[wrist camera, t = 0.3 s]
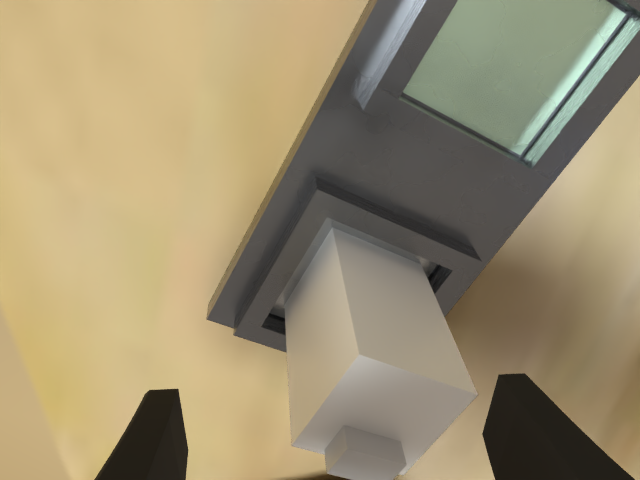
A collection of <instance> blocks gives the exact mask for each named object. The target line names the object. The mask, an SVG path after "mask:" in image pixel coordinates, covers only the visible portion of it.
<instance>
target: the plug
mask: <svg viewBox="0 0 640 480" xmlns="http://www.w3.org/2000/svg"><path fill="white" fill-rule="evenodd" d="M284 308H285V328H286V348H287V368H288V387H289V407H290V427H291V446H294V447H298V448H301V449H305V450H309V451H313V452H317V453H320V454H324V455H325V461H326V470H327V474H331V475H334V476H338V477H342V478H346V479H350V480H393V479H394V478H395V477H396V476H397V475H398V474H400V475H403V476H404V474H405V473H406V472H407V471H408V470H409V469H410V468H411V467H412V466H413V465H414V464H415V463H416V461H417V460H418V459H419V458H420V457H421V456H422V455H423V454H424V453H425V452H426V451H427V450H428V449H429V447H430V446H431V445H432V444H433V443H434V442H435V441H436V440H437V439H438V438H439V437H440V436H441V434H442V433H443V432H444V431H445V430H446V429H447V428H448V427H449V426H450V425H451V424H452V423H453V422H454V420H455V419H456V418H457V417H458V416H459V415H460V414H461V413H462V412H463V411H464V410H465V409H466V407H467V406H468V405H469V404H470V403H471V402H472V401H473V400H474V399H475V398H476V397H477V396H478V393H477V391H476V389H475V387H474V384H473V382H472V380H471V377H470V375H469V373H468V370H467V368H466V366H465V364H464V361H463V359H462V357H461V354H460V352H459V350H458V347H457V345H456V343H455V341H454V338H453V336H452V334H451V331H450V329H449V327H448V325H447V322H446V320H445V318H444V315H443V313H442V311H441V308H440V306H439V304H438V302H437V299H436V297H435V295H434V292H433V290H432V288H431V285H430V283H429V281H428V279H427V276H426V274H425V272H424V269H423V267H422V265H421V264H419V263H416V262H414V261H412V260H409V259H407V258H404V257H402V256H400V255H397V254H395V253H393V252H390V251H388V250H385V249H383V248H381V247H378V246H376V245H373V244H371V243H369V242H366V241H364V240H362V239H359V238H357V237H354V236H352V235H350V234H347V233H345V232H342V231H340V230H338V229H335V228H333V227H332V229H331V230H330V232H329V233H328V235H327V237H326V238H325V240H324V242H323V243H322V245H321V246H320V248H319V250H318V251H317V253H316V255H315V256H314V258H313V259H312V261H311V263H310V264H309V266H308V268H307V269H306V271H305V272H304V274H303V276H302V277H301V279H300V281H299V282H298V284H297V285H296V287H295V289H294V290H293V292H292V294H291V295H290V297H289V298H288V300H287V302H286V303H285V305H284Z"/></svg>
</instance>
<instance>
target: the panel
mask: <svg viewBox="0 0 640 480" xmlns="http://www.w3.org/2000/svg"><path fill="white" fill-rule="evenodd" d="M639 75H640V0H369V2H368V4H367V5H366V7H365V9H364V11H363V13H362V15H361V17H360V19H359V21H358V22H357V24H356V26H355V28H354V30H353V32H352V34H351V36H350V38H349V39H348V41H347V43H346V45H345V47H344V49H343V51H342V53H341V55H340V56H339V58H338V60H337V62H336V64H335V66H334V68H333V70H332V72H331V74H330V75H329V77H328V79H327V81H326V83H325V85H324V87H323V89H322V91H321V92H320V94H319V96H318V98H317V100H316V102H315V104H314V106H313V108H312V109H311V111H310V113H309V115H308V117H307V119H306V121H305V123H304V125H303V126H302V128H301V130H300V132H299V134H298V136H297V138H296V140H295V142H294V143H293V145H292V147H291V149H290V151H289V153H288V155H287V157H286V159H285V160H284V162H283V164H282V166H281V168H280V170H279V172H278V174H277V176H276V177H275V179H274V181H273V183H272V185H271V187H270V189H269V191H268V193H267V195H266V196H265V198H264V200H263V202H262V204H261V206H260V208H259V210H258V212H257V213H256V215H255V217H254V219H253V221H252V223H251V225H250V227H249V229H248V230H247V232H246V234H245V236H244V238H243V240H242V242H241V244H240V246H239V247H238V249H237V251H236V253H235V255H234V257H233V259H232V261H231V263H230V264H229V266H228V268H227V270H226V272H225V274H224V276H223V278H222V280H221V281H220V283H219V285H218V287H217V289H216V291H215V293H214V295H213V297H212V299H211V300H210V302H209V305H208V312H207V320H210V321H213V322H216V323H219V324H222V325H225V326H228V327H231V328H234V334H233V335H234V336H238V337H241V338H244V339H247V340H250V341H253V342H256V343H259V344H262V345H265V346H268V347H271V348H274V349H277V350H281V351H284V352H287V348H286V328H285V308H284V305H285V303H286V302H287V300H288V298H289V297H290V295H291V294H292V292H293V290H294V289H295V287H296V285H297V284H298V282H299V281H300V279H301V277H302V276H303V274H304V272H305V271H306V269H307V268H308V266H309V264H310V263H311V261H312V259H313V258H314V256H315V255H316V253H317V251H318V250H319V248H320V246H321V245H322V243H323V242H324V240H325V238H326V237H327V235H328V233H329V232H330V230H331V229H332V227H333V228H335V229H338V230H340V231H342V232H345V233H347V234H350V235H352V236H354V237H357V238H359V239H362V240H364V241H366V242H369V243H371V244H373V245H376V246H378V247H381V248H383V249H385V250H388V251H390V252H393V253H395V254H397V255H400V256H402V257H404V258H407V259H409V260H412V261H414V262H416V263H419V264H421V265H422V267H423V269H424V272H425V274H426V276H427V279H428V281H429V283H430V285H431V288H432V290H433V292H434V295H435V297H436V299H437V302H438V304H439V306H440V308H441V311H442V313H443V315H444V317H445V316H446V315H447V314H448V312H449V311H450V310H451V309H452V307H453V306H454V305H455V304H456V302H457V301H458V300H459V299H460V297H461V296H462V295H463V294H464V292H465V291H466V290H467V289H468V288H469V286H470V285H471V284H472V283H473V281H474V280H475V279H476V278H477V276H478V275H479V274H480V273H481V271H482V270H483V269H484V268H485V266H486V265H487V264H488V263H489V261H490V260H491V259H492V258H493V256H494V255H495V254H496V253H497V252H498V250H499V249H500V248H501V247H502V245H503V244H504V243H505V242H506V240H507V239H508V238H509V237H510V235H511V234H512V233H513V232H514V230H515V229H516V228H517V227H518V225H519V224H520V223H521V222H522V220H523V219H524V218H525V217H526V216H527V214H528V213H529V212H530V211H531V209H532V208H533V207H534V206H535V204H536V203H537V202H538V201H539V199H540V198H541V197H542V196H543V194H544V193H545V192H546V191H547V189H548V188H549V187H550V186H551V184H552V183H553V182H554V181H555V180H556V178H557V177H558V176H559V175H560V173H561V172H562V171H563V170H564V168H565V167H566V166H567V165H568V163H569V162H570V161H571V160H572V158H573V157H574V156H575V155H576V153H577V152H578V151H579V150H580V148H581V147H582V146H583V145H584V144H585V142H586V141H587V140H588V139H589V137H590V136H591V135H592V134H593V132H594V131H595V130H596V129H597V127H598V126H599V125H600V124H601V122H602V121H603V120H604V119H605V117H606V116H607V115H608V114H609V112H610V111H611V110H612V109H613V108H614V106H615V105H616V104H617V103H618V101H619V100H620V99H621V98H622V96H623V95H624V94H625V93H626V91H627V90H628V89H629V88H630V86H631V85H632V84H633V83H634V81H635V80H636V79H637V78H638V76H639Z"/></svg>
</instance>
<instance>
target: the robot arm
mask: <svg viewBox="0 0 640 480" xmlns="http://www.w3.org/2000/svg"><path fill="white" fill-rule="evenodd" d="M483 438H484V442H485V445H486V449H487V453H488V456H489V460H490V463H491V467H492V470H493V473H494V477H495V480H635V479H634V478H633V477H631V476H630V475H629V474H628V473H627V472H626V471H624V470H623V469H622V468H621V467H620V466H619V465H618V464H617V463H616V462H615V461H613V460H612V459H611V458H610V457H609V456H608V455H607V454H606V453H605V452H604V451H603V450H602V449H601V448H599V447H598V446H597V445H596V444H595V443H594V442H593V441H592V440H591V439H590V438H589V437H588V436H587V435H586V434H585V433H584V432H583V431H582V430H581V429H580V428H579V427H578V426H577V425H576V424H575V423H574V422H573V421H572V420H570V419H569V418H568V417H567V416H566V415H565V414H564V413H563V412H562V411H561V410H560V409H559V408H558V407H557V406H556V404H555V403H554V402H553V401H552V400H551V399H550V398H549V397H548V396H547V395H546V394H545V393H544V392H543V391H542V390H541V389H540V388H539V387H538V386H537V385H536V384H535V383H534V382H533V381H532V380H531V379H530V378H529V377H528V376H527V375H526V374H503V375H499V376H498V379H497V383H496V387H495V390H494V394H493V398H492V401H491V405H490V408H489V412H488V416H487V419H486V423H485V426H484V430H483ZM187 457H188V446H187V440H186V434H185V428H184V421H183V415H182V409H181V403H180V397H179V391H178V389H165V390H149V391H148V392H147V393H146V394H145V395H144V397H143V399H142V401H141V403H140V405H139V407H138V409H137V411H136V413H135V414H134V416H133V418H132V420H131V422H130V423H129V425H128V427H127V429H126V430H125V432H124V434H123V435H122V437H121V439H120V440H119V442H118V444H117V445H116V447H115V449H114V450H113V452H112V453H111V455H110V456H109V458H108V460H107V461H106V463H105V464H104V466H103V467H102V469H101V470H100V472H99V474H98V475H97V477H96V478H95V480H185V479H186V468H187Z"/></svg>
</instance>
